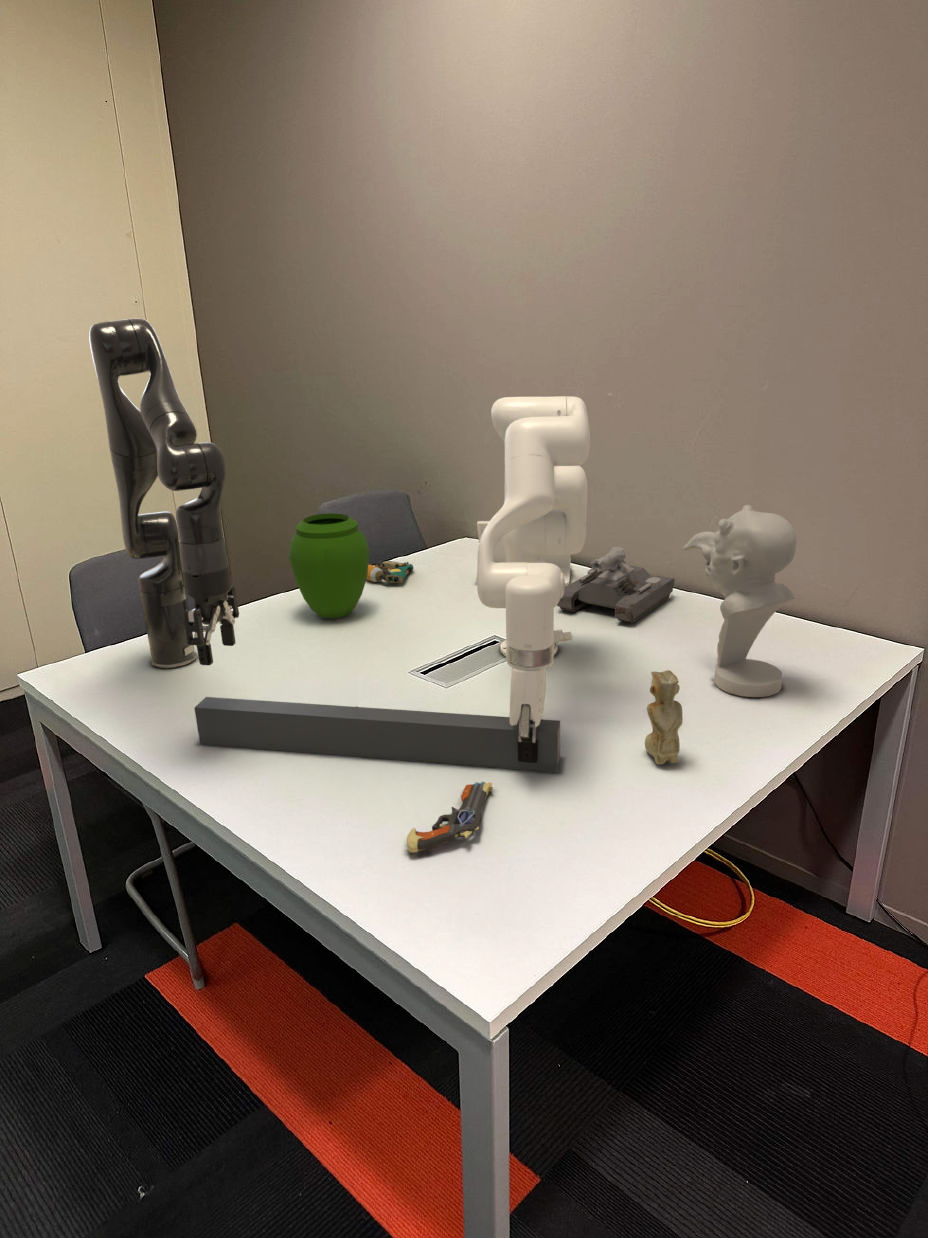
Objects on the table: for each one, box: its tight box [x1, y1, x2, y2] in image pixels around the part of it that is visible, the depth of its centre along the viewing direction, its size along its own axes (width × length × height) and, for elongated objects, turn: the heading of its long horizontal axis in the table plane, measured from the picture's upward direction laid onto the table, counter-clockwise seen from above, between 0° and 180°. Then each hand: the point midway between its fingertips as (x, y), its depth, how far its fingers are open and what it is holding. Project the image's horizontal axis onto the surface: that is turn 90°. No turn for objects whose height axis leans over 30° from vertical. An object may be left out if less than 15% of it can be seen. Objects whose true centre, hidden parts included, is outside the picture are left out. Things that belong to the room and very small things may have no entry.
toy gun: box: [406, 781, 494, 853], centre depth 127 cm, size 3×19×10 cm
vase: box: [288, 512, 370, 620], centre depth 209 cm, size 20×20×24 cm
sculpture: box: [644, 669, 684, 765], centre depth 141 cm, size 6×7×15 cm
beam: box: [194, 696, 561, 773], centre depth 147 cm, size 64×4×7 cm, turn 79°
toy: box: [556, 546, 676, 624], centre depth 212 cm, size 25×20×15 cm
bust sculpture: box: [682, 504, 797, 698], centre depth 167 cm, size 16×24×35 cm, turn 28°
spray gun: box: [366, 560, 414, 584], centre depth 240 cm, size 4×17×15 cm
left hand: (218, 654), depth 148 cm, fingers open, 8 cm apart
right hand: (529, 752), depth 142 cm, fingers closed on beam, 4 cm apart
